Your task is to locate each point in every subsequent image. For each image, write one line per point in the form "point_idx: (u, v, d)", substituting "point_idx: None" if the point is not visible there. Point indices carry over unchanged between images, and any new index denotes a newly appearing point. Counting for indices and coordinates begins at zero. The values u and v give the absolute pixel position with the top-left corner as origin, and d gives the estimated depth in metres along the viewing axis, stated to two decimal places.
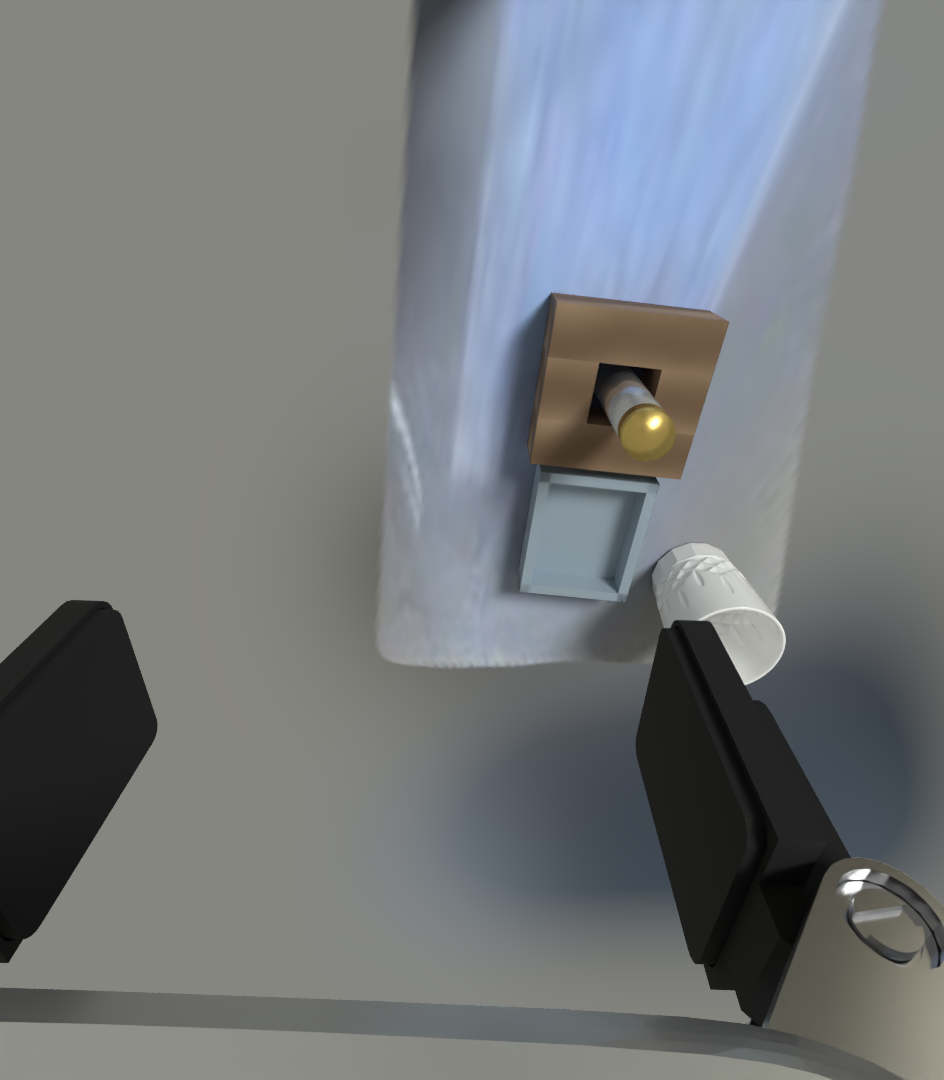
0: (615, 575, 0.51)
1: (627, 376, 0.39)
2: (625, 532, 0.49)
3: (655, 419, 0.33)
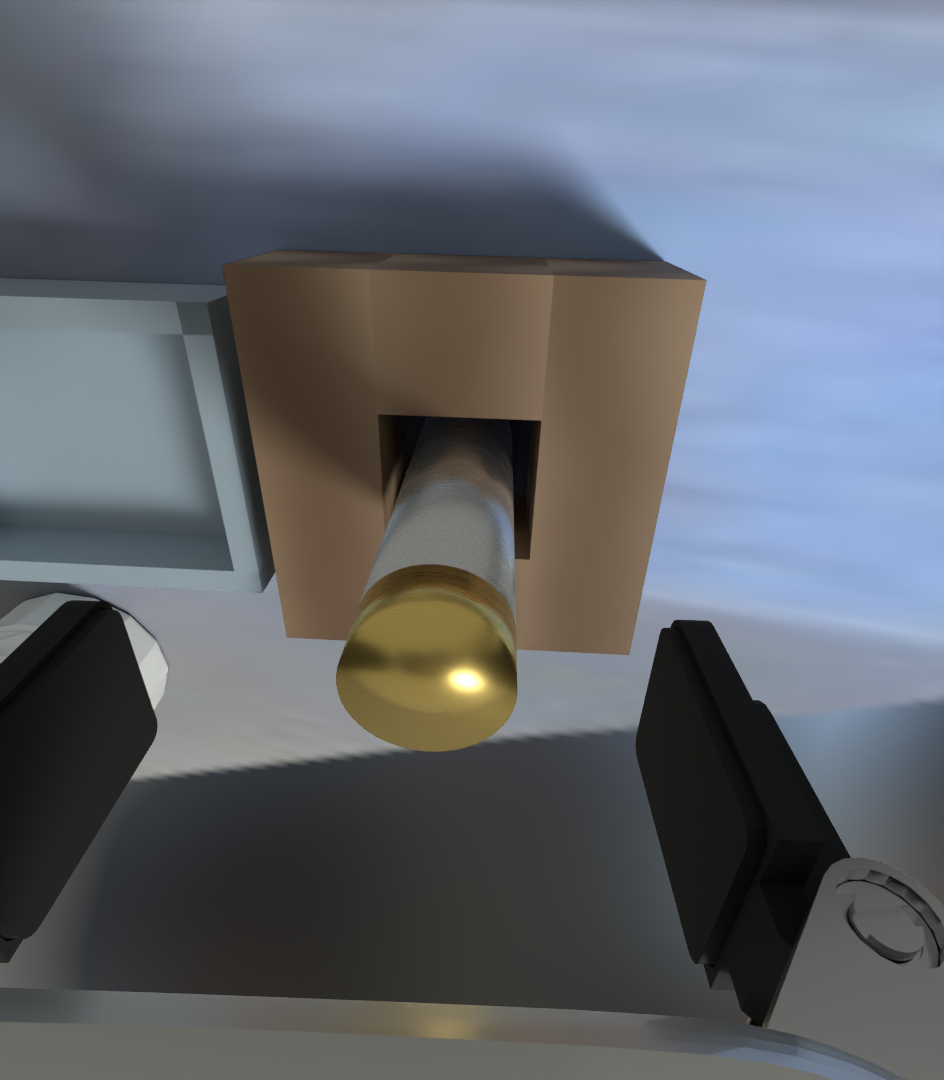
0: (10, 530, 0.21)
1: None
2: (128, 529, 0.21)
3: (489, 696, 0.10)
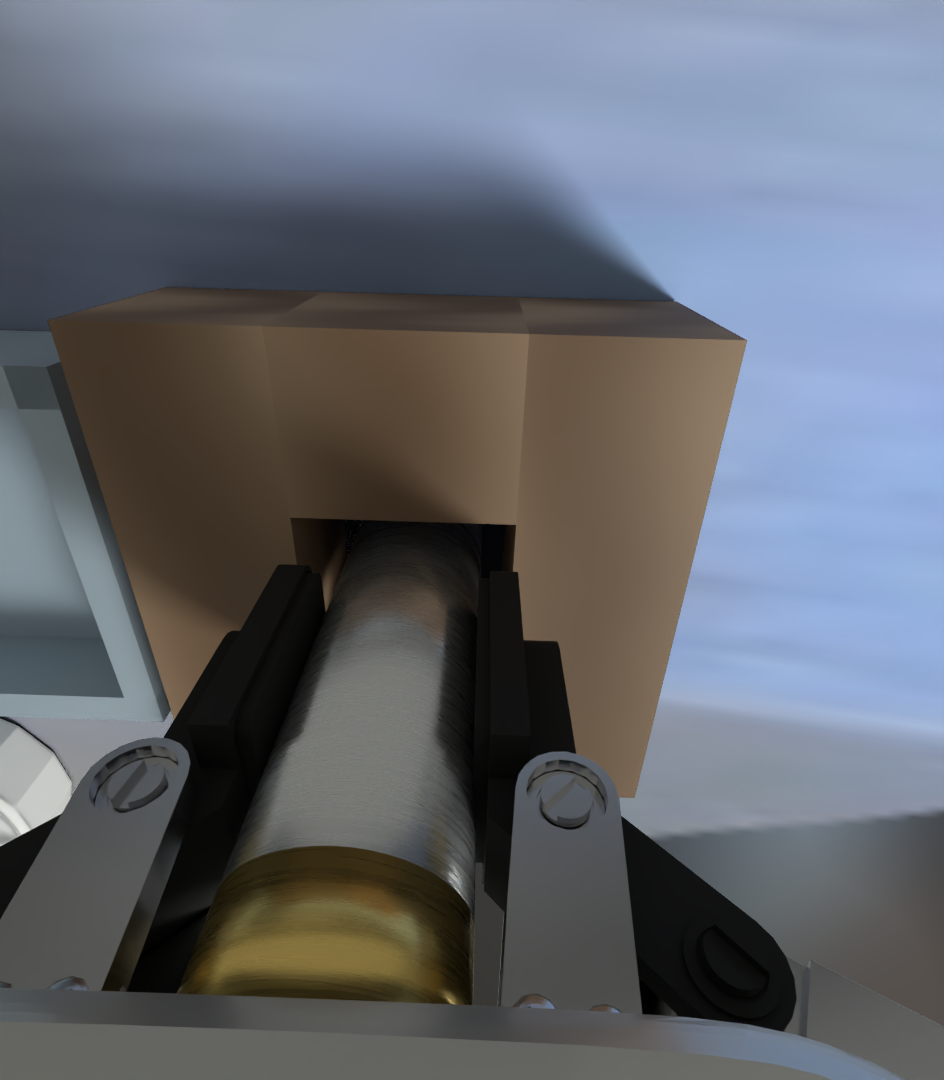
0: None
1: None
2: None
3: None
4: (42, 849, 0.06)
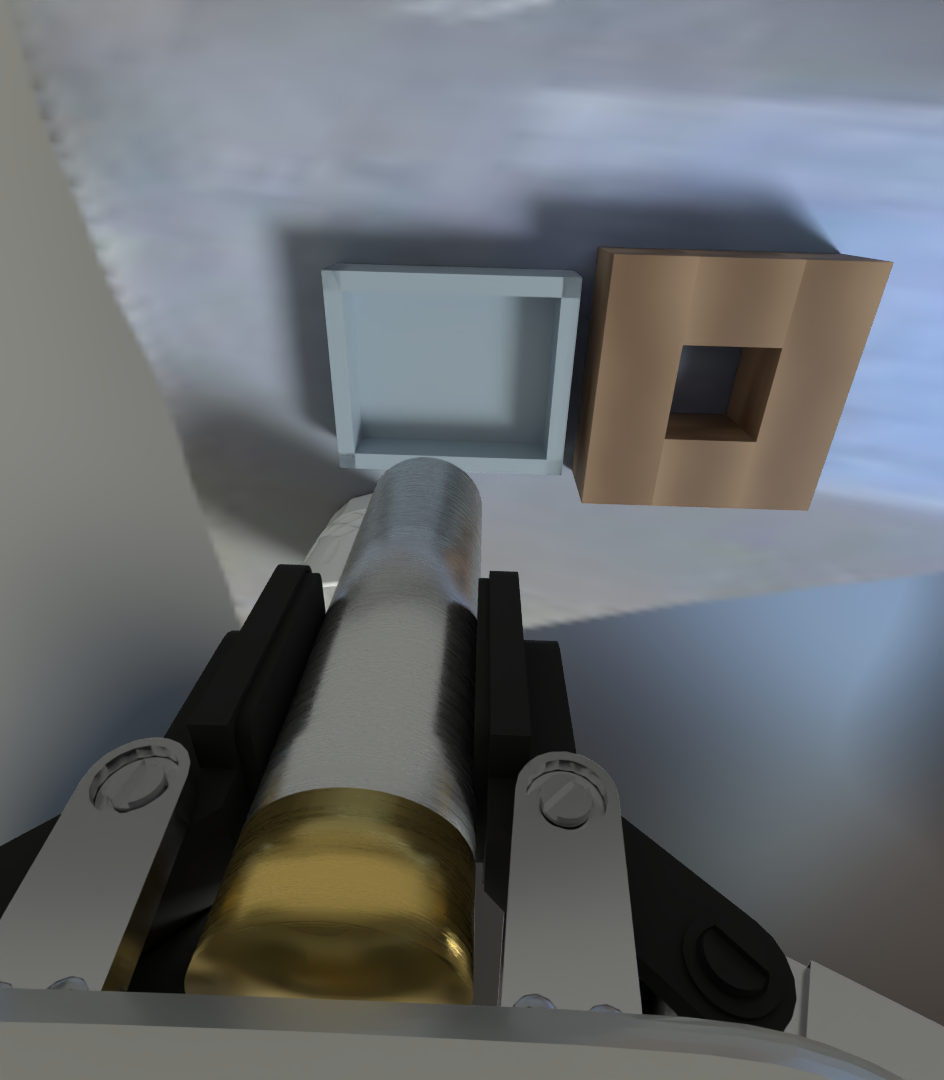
0: (372, 440, 0.31)
1: None
2: (452, 439, 0.31)
3: None
4: (42, 849, 0.06)
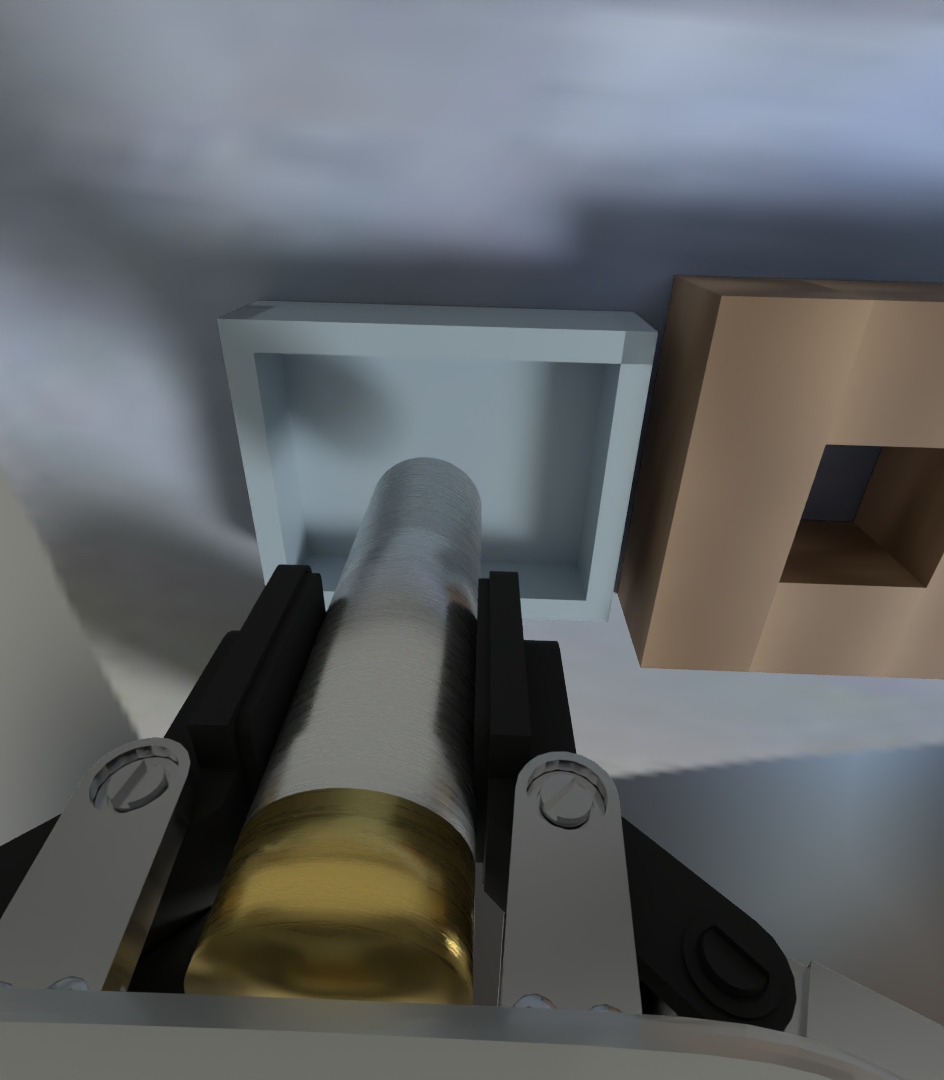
0: (322, 559, 0.21)
1: None
2: None
3: None
4: (42, 849, 0.06)
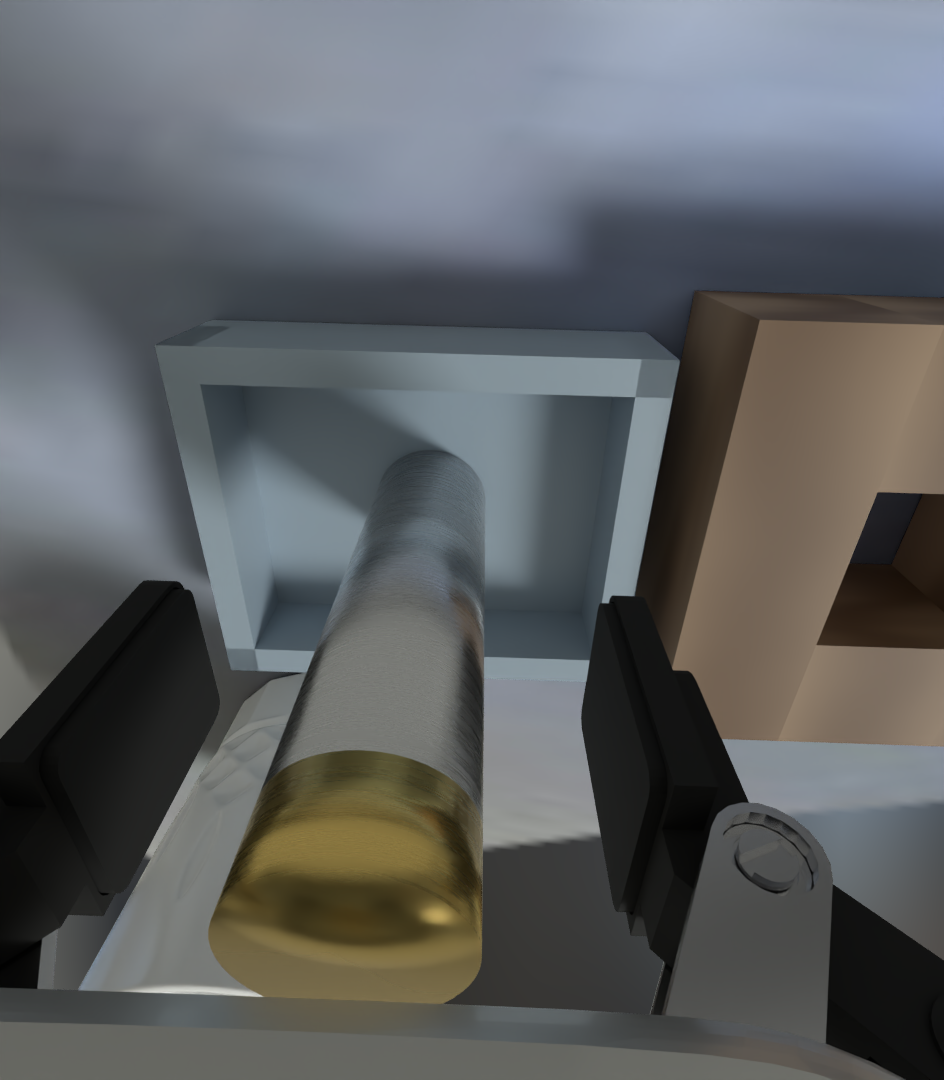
0: (293, 609, 0.18)
1: (484, 585, 0.13)
2: None
3: (440, 961, 0.07)
4: None
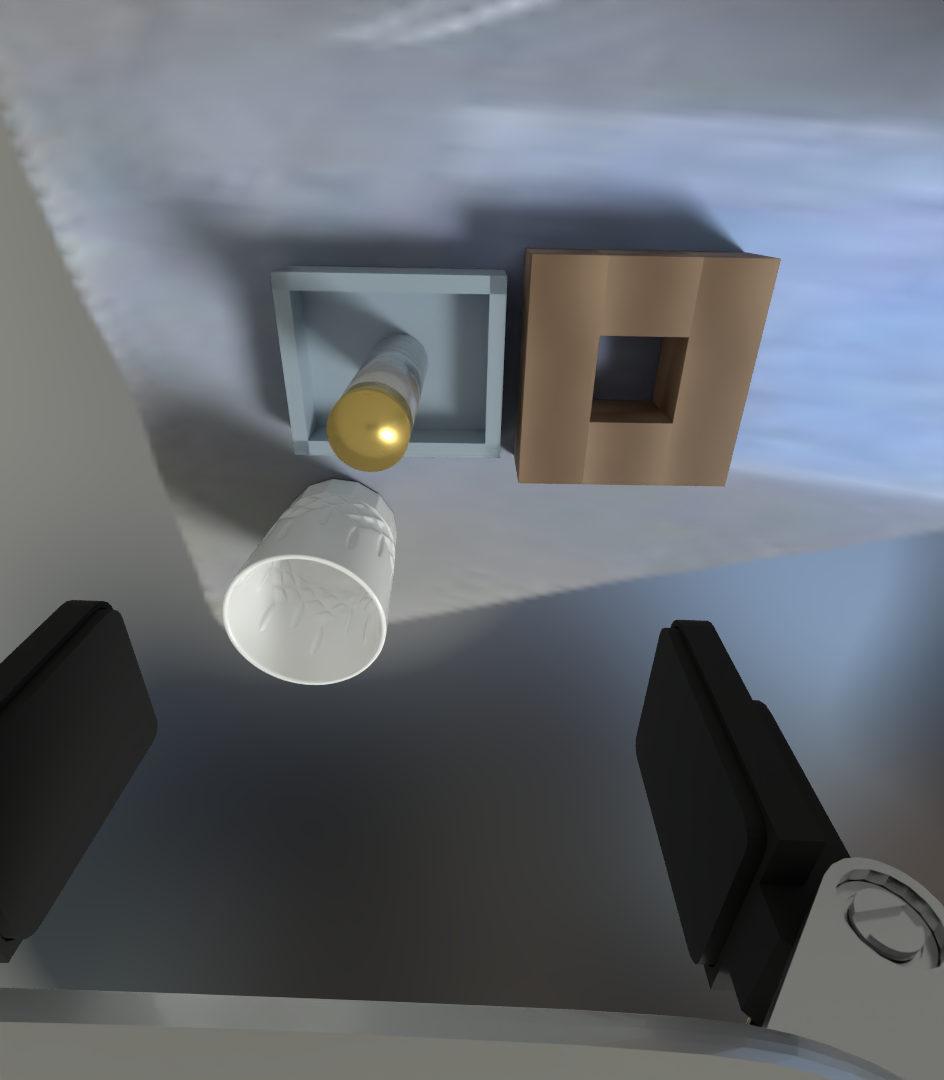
0: None
1: (422, 380, 0.28)
2: None
3: (397, 436, 0.22)
4: None
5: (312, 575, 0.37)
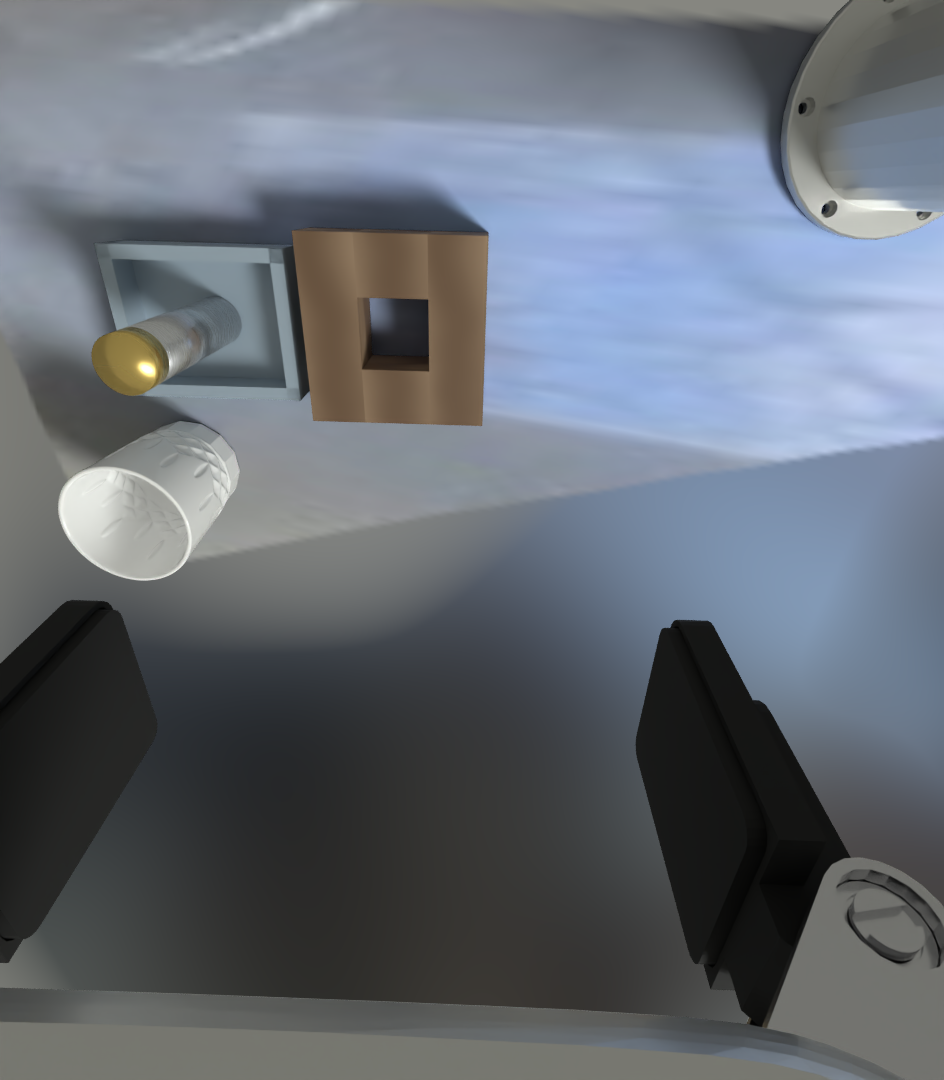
0: None
1: (213, 332, 0.35)
2: (227, 376, 0.41)
3: (145, 367, 0.29)
4: None
5: (165, 502, 0.44)
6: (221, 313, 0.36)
